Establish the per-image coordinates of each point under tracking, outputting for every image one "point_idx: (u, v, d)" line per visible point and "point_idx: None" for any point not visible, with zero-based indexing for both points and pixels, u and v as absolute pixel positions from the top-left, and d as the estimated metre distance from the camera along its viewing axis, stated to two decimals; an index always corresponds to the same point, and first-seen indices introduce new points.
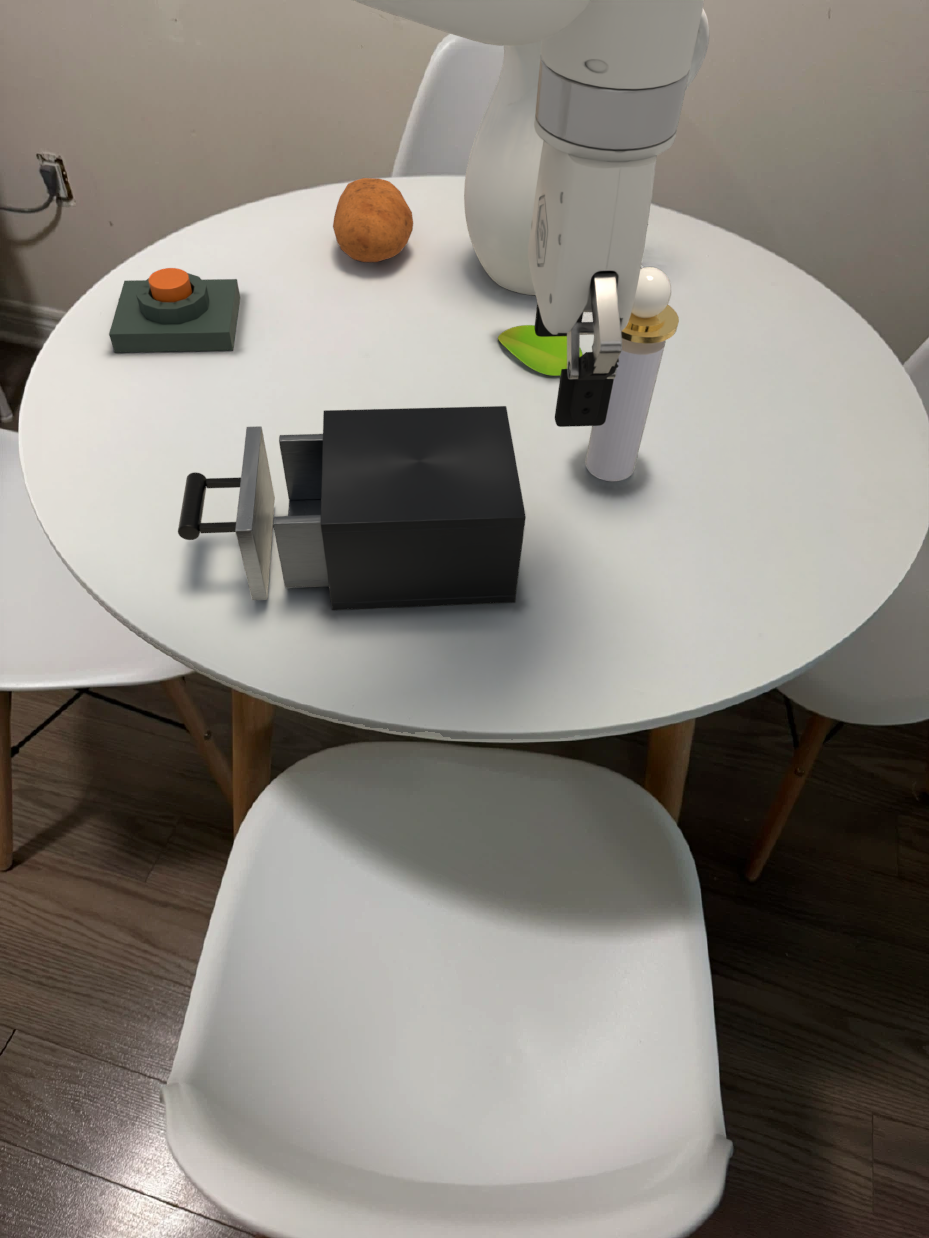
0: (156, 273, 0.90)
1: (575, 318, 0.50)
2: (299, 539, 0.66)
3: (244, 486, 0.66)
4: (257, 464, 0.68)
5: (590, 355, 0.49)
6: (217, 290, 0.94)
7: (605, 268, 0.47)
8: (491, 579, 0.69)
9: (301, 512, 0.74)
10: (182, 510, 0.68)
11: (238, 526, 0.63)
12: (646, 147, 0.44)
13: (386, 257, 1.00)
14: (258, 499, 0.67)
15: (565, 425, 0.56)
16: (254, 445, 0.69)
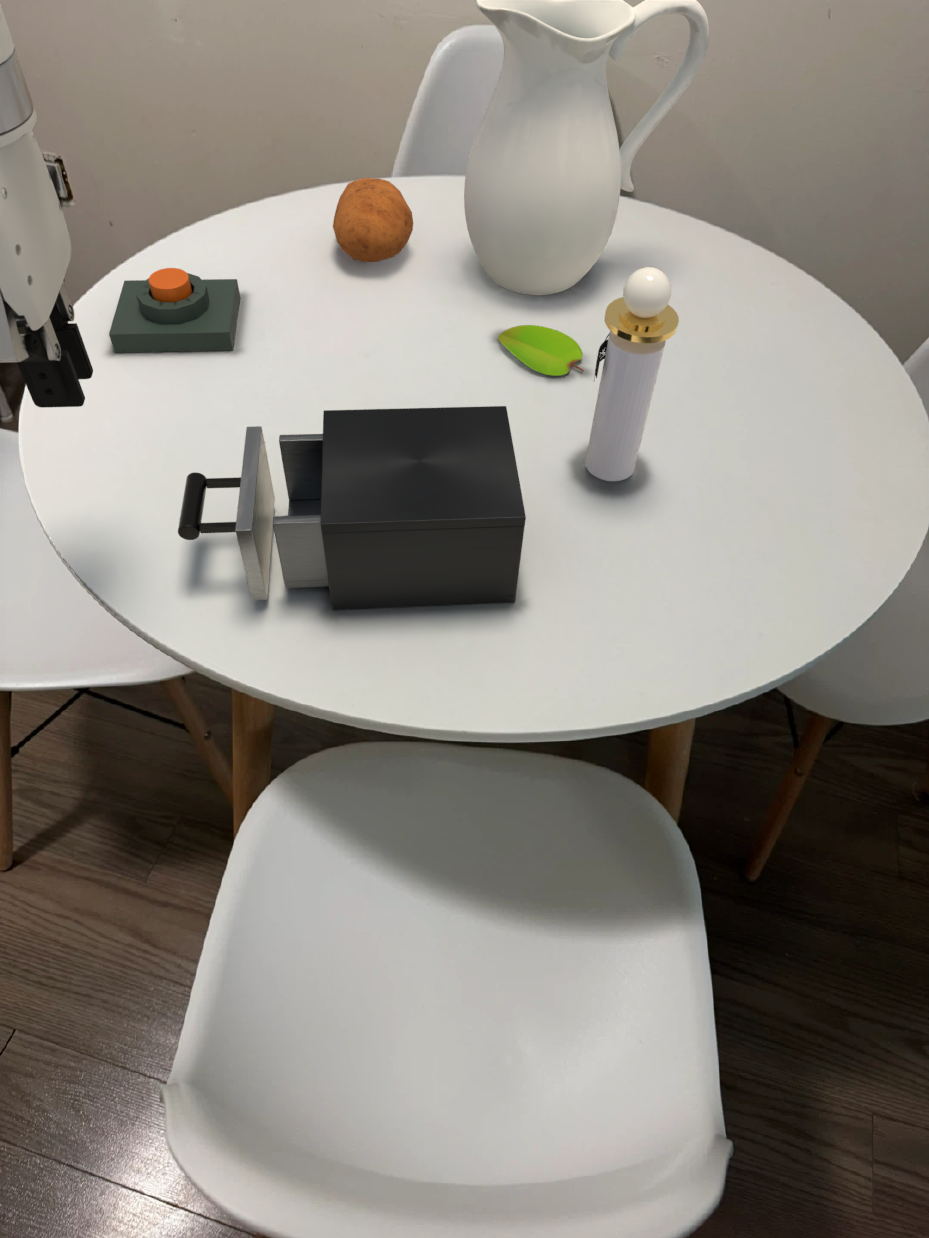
0: (156, 273, 0.90)
1: None
2: (299, 539, 0.66)
3: (244, 486, 0.66)
4: (257, 464, 0.68)
5: None
6: (217, 290, 0.94)
7: None
8: (491, 579, 0.69)
9: (301, 512, 0.74)
10: (182, 510, 0.68)
11: (238, 526, 0.63)
12: None
13: (386, 257, 1.00)
14: (258, 499, 0.67)
15: (46, 406, 0.58)
16: (254, 445, 0.69)
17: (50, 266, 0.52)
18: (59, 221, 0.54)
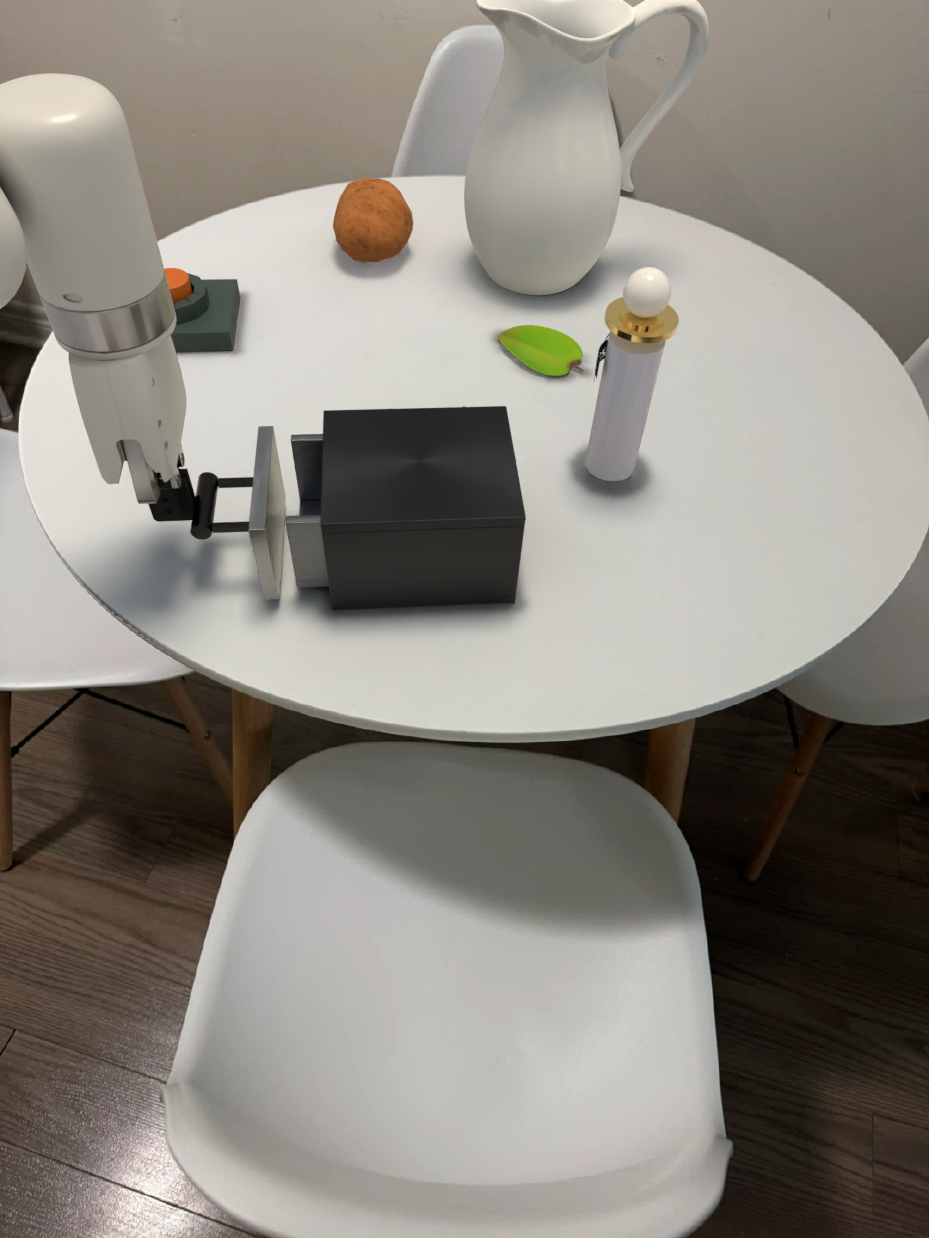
0: None
1: None
2: (312, 538, 0.66)
3: (256, 486, 0.66)
4: (269, 464, 0.68)
5: None
6: (217, 290, 0.94)
7: (124, 438, 0.57)
8: (491, 579, 0.69)
9: (312, 512, 0.74)
10: (194, 510, 0.68)
11: (251, 526, 0.64)
12: (128, 348, 0.54)
13: (386, 257, 1.00)
14: (270, 499, 0.67)
15: (163, 520, 0.69)
16: (266, 445, 0.69)
17: (177, 426, 0.62)
18: (181, 383, 0.63)
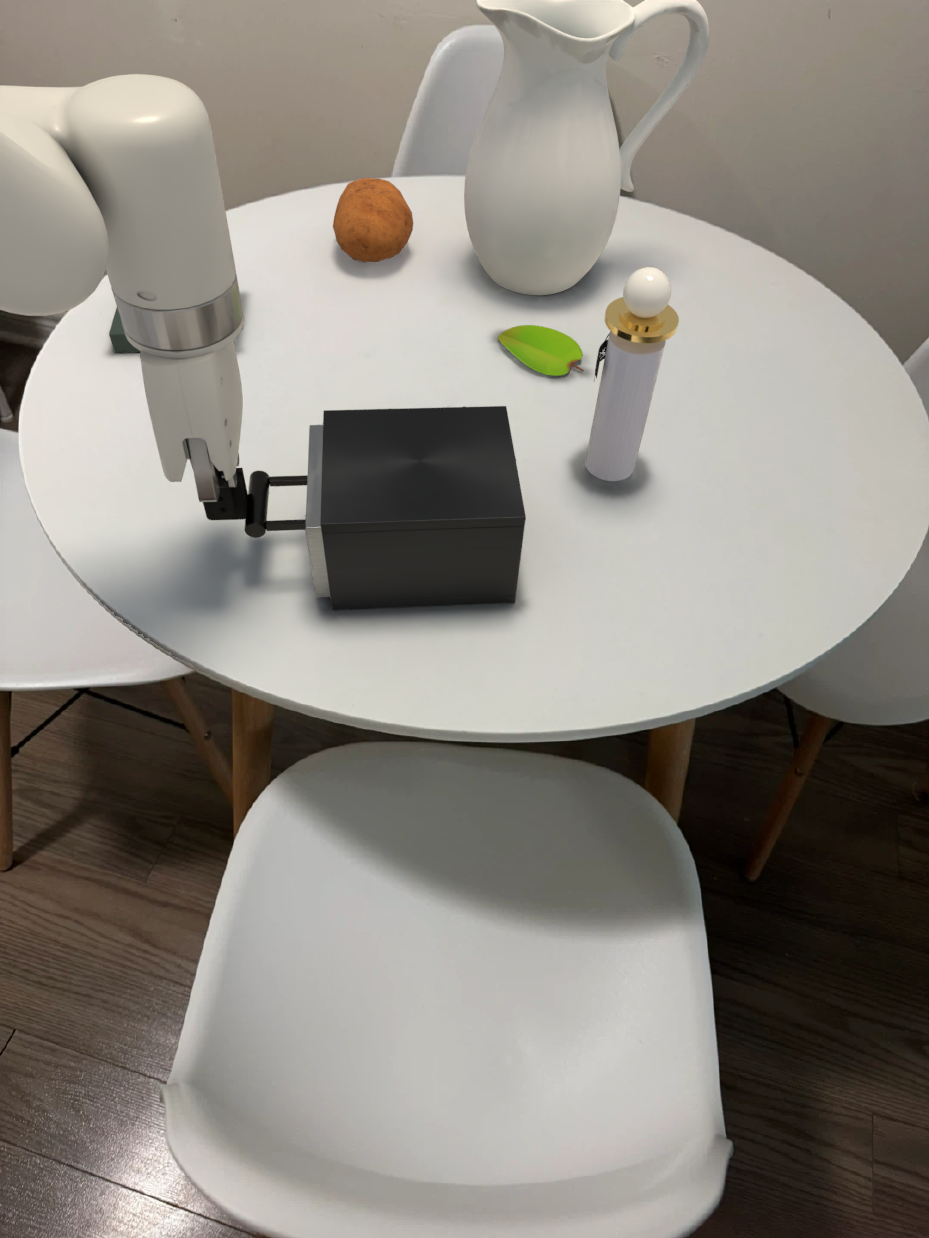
0: None
1: None
2: None
3: (311, 484, 0.66)
4: None
5: None
6: None
7: (191, 436, 0.57)
8: (491, 579, 0.69)
9: None
10: (248, 508, 0.68)
11: (308, 524, 0.64)
12: (200, 347, 0.54)
13: (386, 257, 1.00)
14: None
15: (216, 519, 0.69)
16: (318, 444, 0.69)
17: (238, 425, 0.62)
18: (240, 382, 0.64)
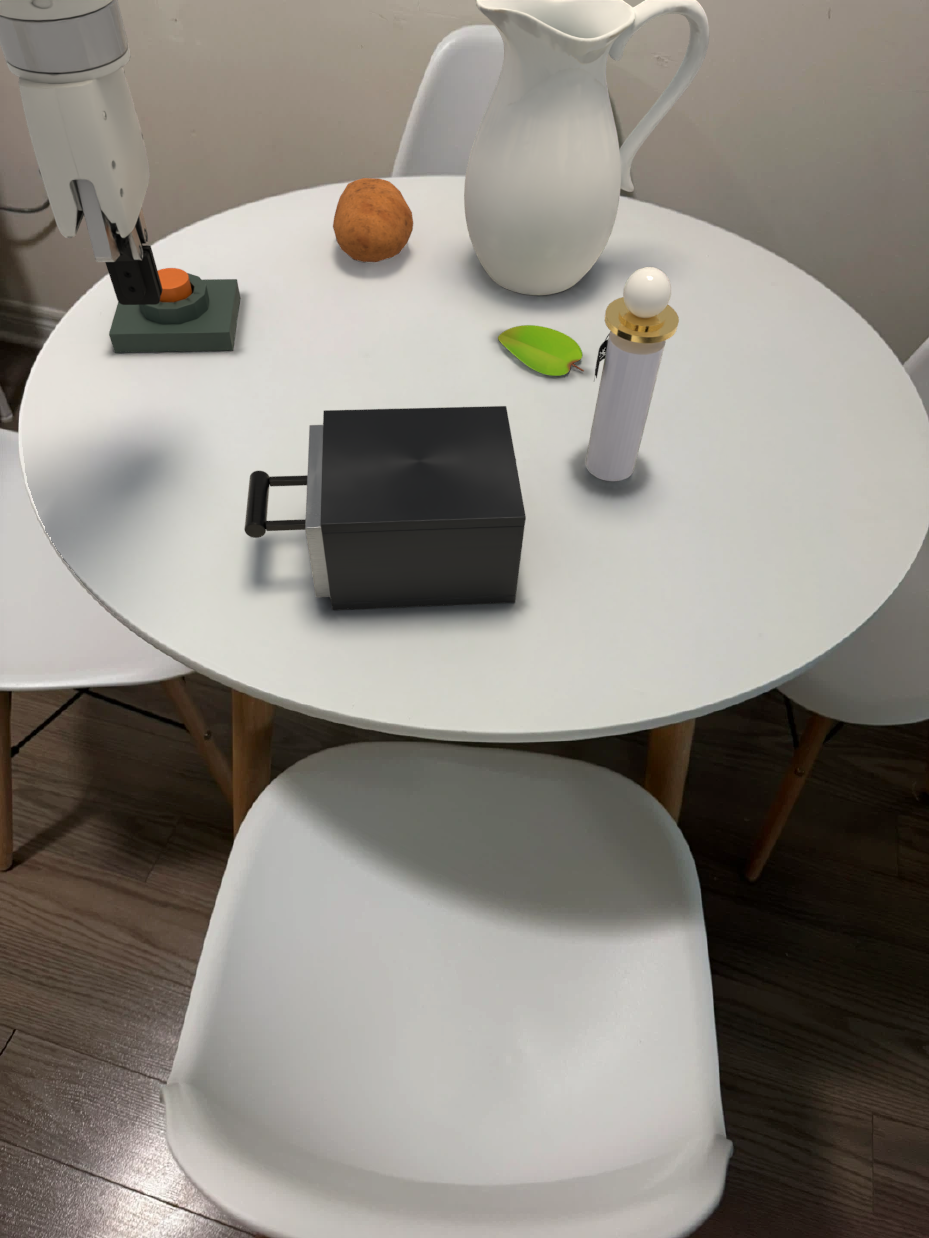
0: None
1: None
2: None
3: (311, 484, 0.66)
4: None
5: None
6: (217, 290, 0.94)
7: (78, 177, 0.57)
8: (491, 579, 0.69)
9: None
10: (248, 508, 0.68)
11: (308, 524, 0.64)
12: (78, 71, 0.53)
13: (386, 257, 1.00)
14: None
15: (128, 304, 0.69)
16: (318, 444, 0.69)
17: (136, 184, 0.61)
18: (142, 147, 0.63)
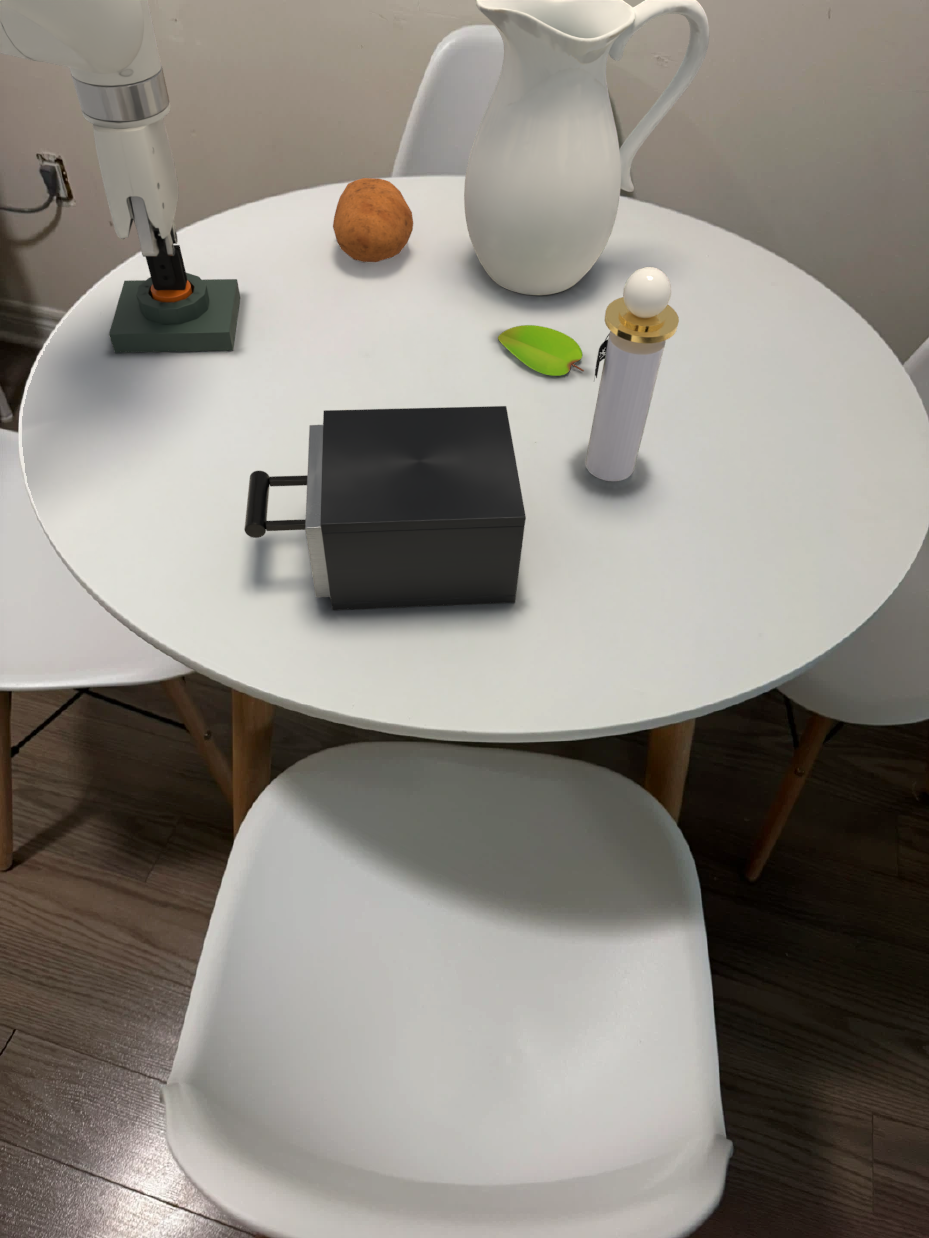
0: None
1: None
2: None
3: (311, 484, 0.66)
4: None
5: None
6: (217, 290, 0.94)
7: (132, 194, 0.78)
8: (491, 579, 0.69)
9: None
10: (248, 508, 0.68)
11: (308, 524, 0.64)
12: (136, 120, 0.75)
13: (386, 257, 1.00)
14: None
15: (161, 289, 0.90)
16: (318, 444, 0.69)
17: (171, 199, 0.83)
18: (174, 172, 0.84)
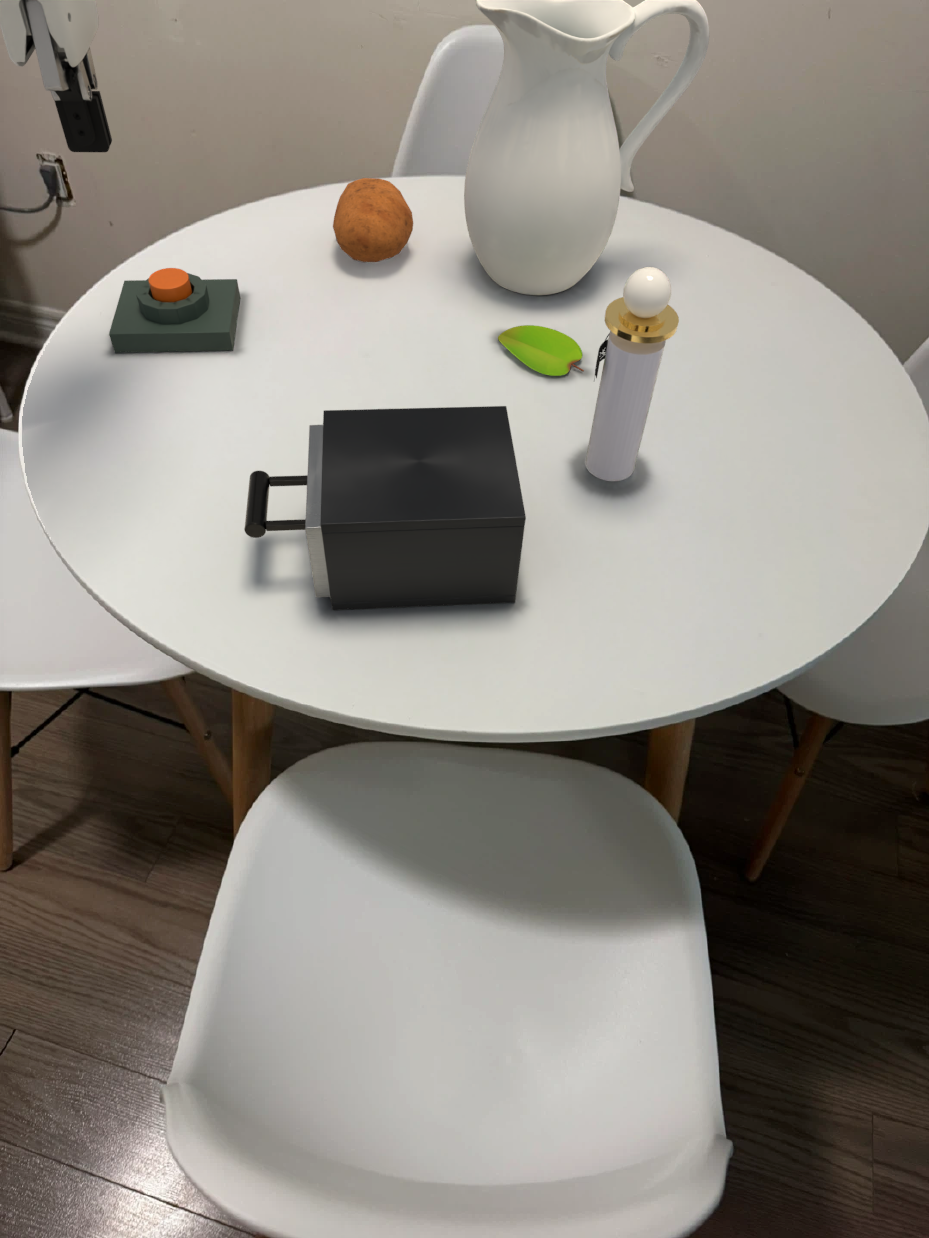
0: (156, 273, 0.90)
1: None
2: None
3: (311, 484, 0.66)
4: None
5: None
6: (217, 290, 0.94)
7: None
8: (491, 579, 0.69)
9: None
10: (248, 508, 0.68)
11: (308, 524, 0.64)
12: None
13: (386, 257, 1.00)
14: None
15: (78, 151, 0.71)
16: (318, 444, 0.69)
17: (84, 18, 0.64)
18: None
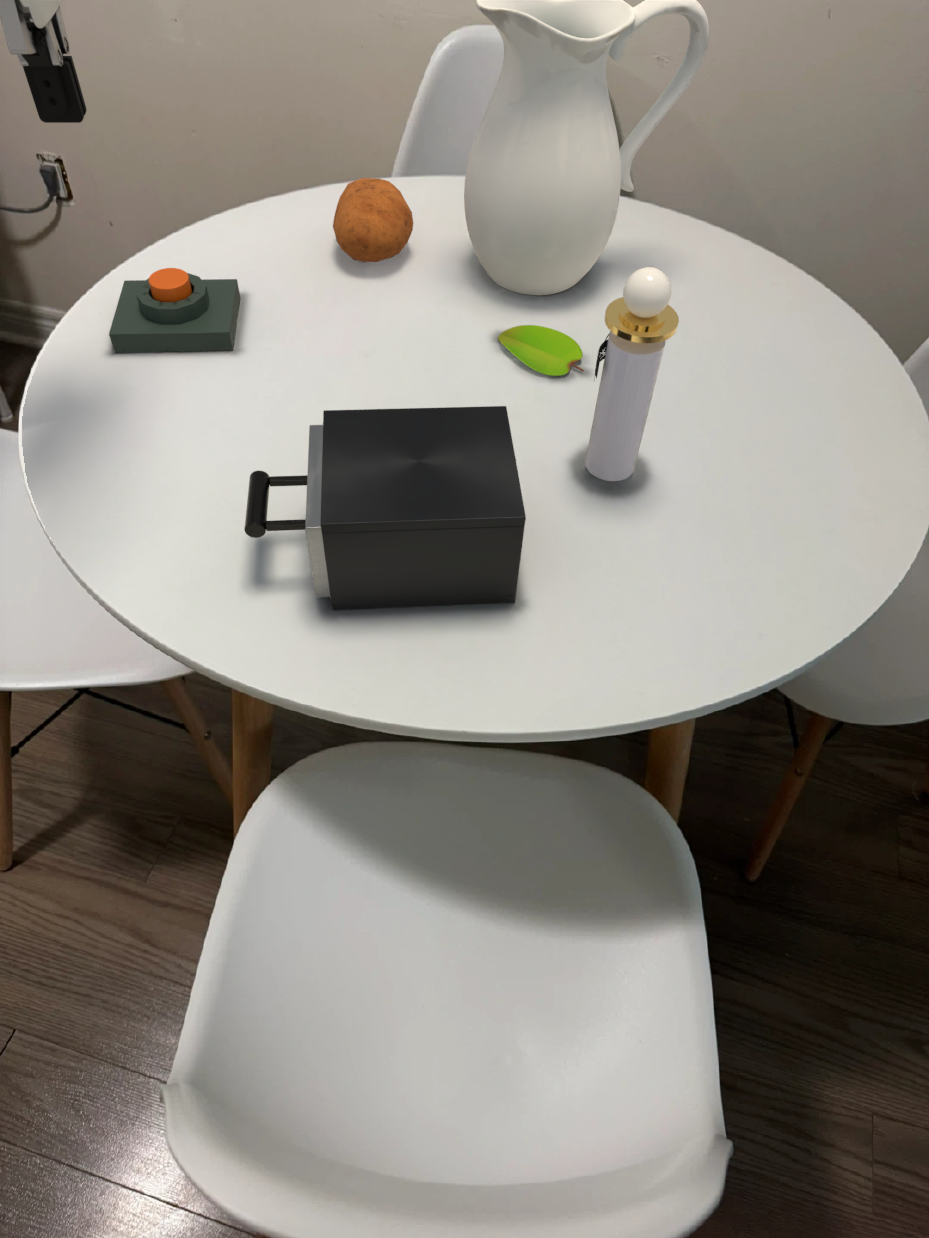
0: (156, 273, 0.90)
1: None
2: None
3: (311, 484, 0.66)
4: None
5: None
6: (217, 290, 0.94)
7: None
8: (491, 579, 0.69)
9: None
10: (248, 508, 0.68)
11: (308, 524, 0.64)
12: None
13: (386, 257, 1.00)
14: None
15: (50, 122, 0.67)
16: (318, 444, 0.69)
17: None
18: None
